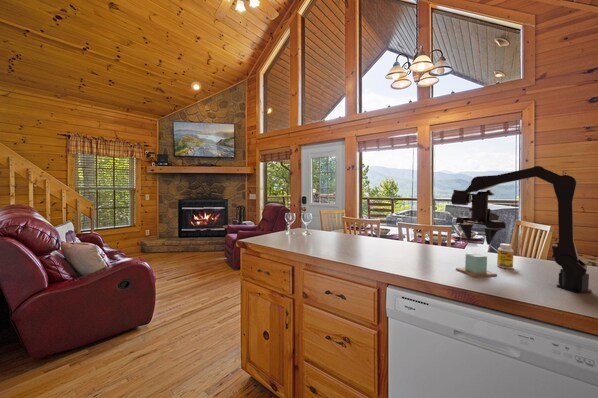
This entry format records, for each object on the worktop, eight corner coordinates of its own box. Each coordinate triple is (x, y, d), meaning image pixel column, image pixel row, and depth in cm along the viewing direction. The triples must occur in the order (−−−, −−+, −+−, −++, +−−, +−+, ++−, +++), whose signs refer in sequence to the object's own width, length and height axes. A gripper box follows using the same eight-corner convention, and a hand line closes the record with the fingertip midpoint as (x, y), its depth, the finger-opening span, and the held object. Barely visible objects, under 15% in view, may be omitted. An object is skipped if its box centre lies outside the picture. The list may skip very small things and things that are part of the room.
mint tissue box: (486, 272, 107) (487, 256, 107) (475, 273, 106) (476, 257, 106) (475, 268, 112) (475, 253, 112) (465, 269, 111) (465, 254, 111)
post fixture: (496, 275, 105) (497, 261, 105) (476, 277, 103) (476, 263, 103) (475, 268, 115) (475, 255, 115) (455, 269, 113) (456, 256, 113)
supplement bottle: (498, 267, 116) (498, 244, 116) (496, 264, 121) (496, 242, 121) (514, 269, 113) (515, 246, 113) (511, 266, 118) (512, 243, 118)
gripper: (517, 207, 104) (515, 246, 105) (475, 204, 122) (474, 237, 123) (495, 207, 102) (493, 247, 102) (455, 204, 120) (454, 238, 120)
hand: (478, 242), depth 112 cm, fingers open, 9 cm apart
